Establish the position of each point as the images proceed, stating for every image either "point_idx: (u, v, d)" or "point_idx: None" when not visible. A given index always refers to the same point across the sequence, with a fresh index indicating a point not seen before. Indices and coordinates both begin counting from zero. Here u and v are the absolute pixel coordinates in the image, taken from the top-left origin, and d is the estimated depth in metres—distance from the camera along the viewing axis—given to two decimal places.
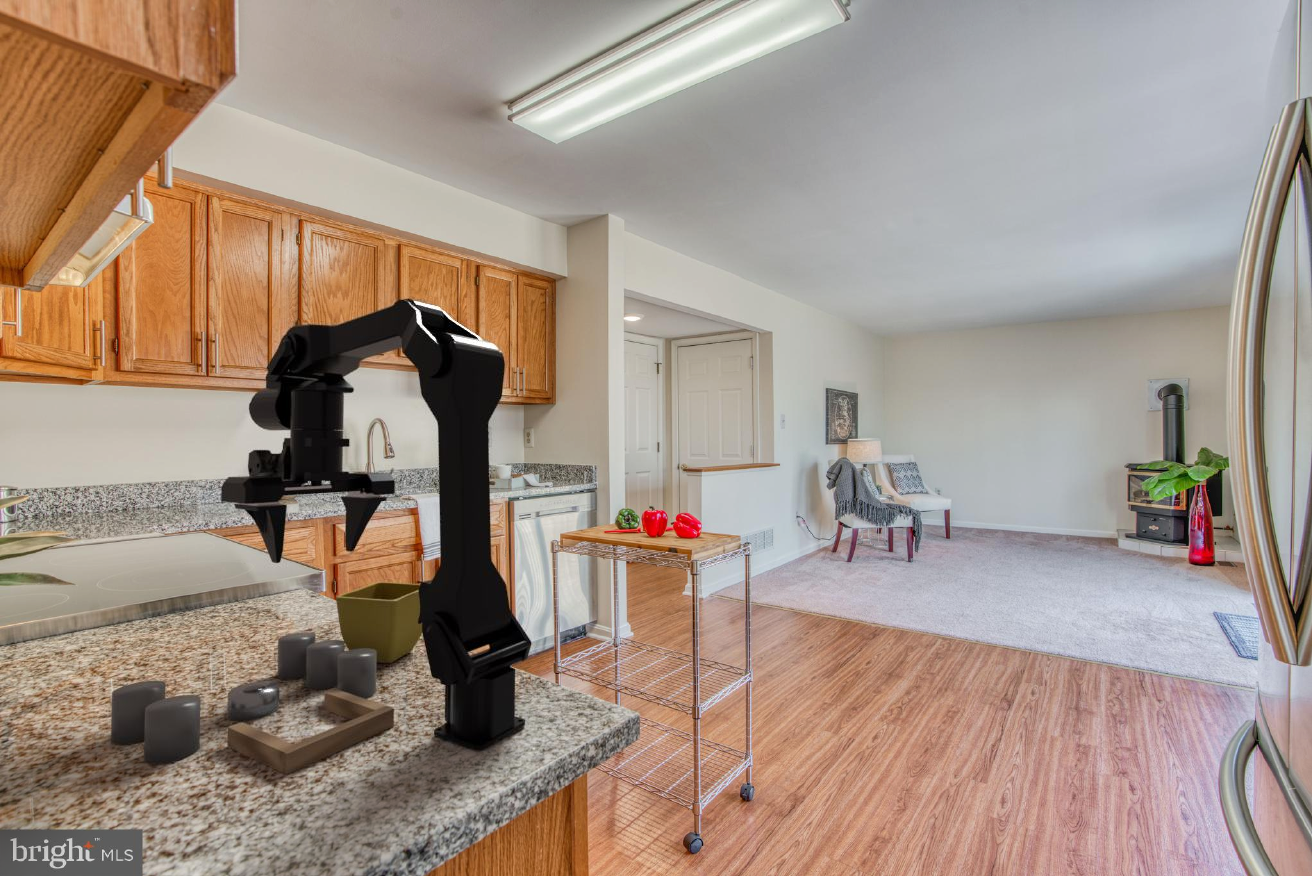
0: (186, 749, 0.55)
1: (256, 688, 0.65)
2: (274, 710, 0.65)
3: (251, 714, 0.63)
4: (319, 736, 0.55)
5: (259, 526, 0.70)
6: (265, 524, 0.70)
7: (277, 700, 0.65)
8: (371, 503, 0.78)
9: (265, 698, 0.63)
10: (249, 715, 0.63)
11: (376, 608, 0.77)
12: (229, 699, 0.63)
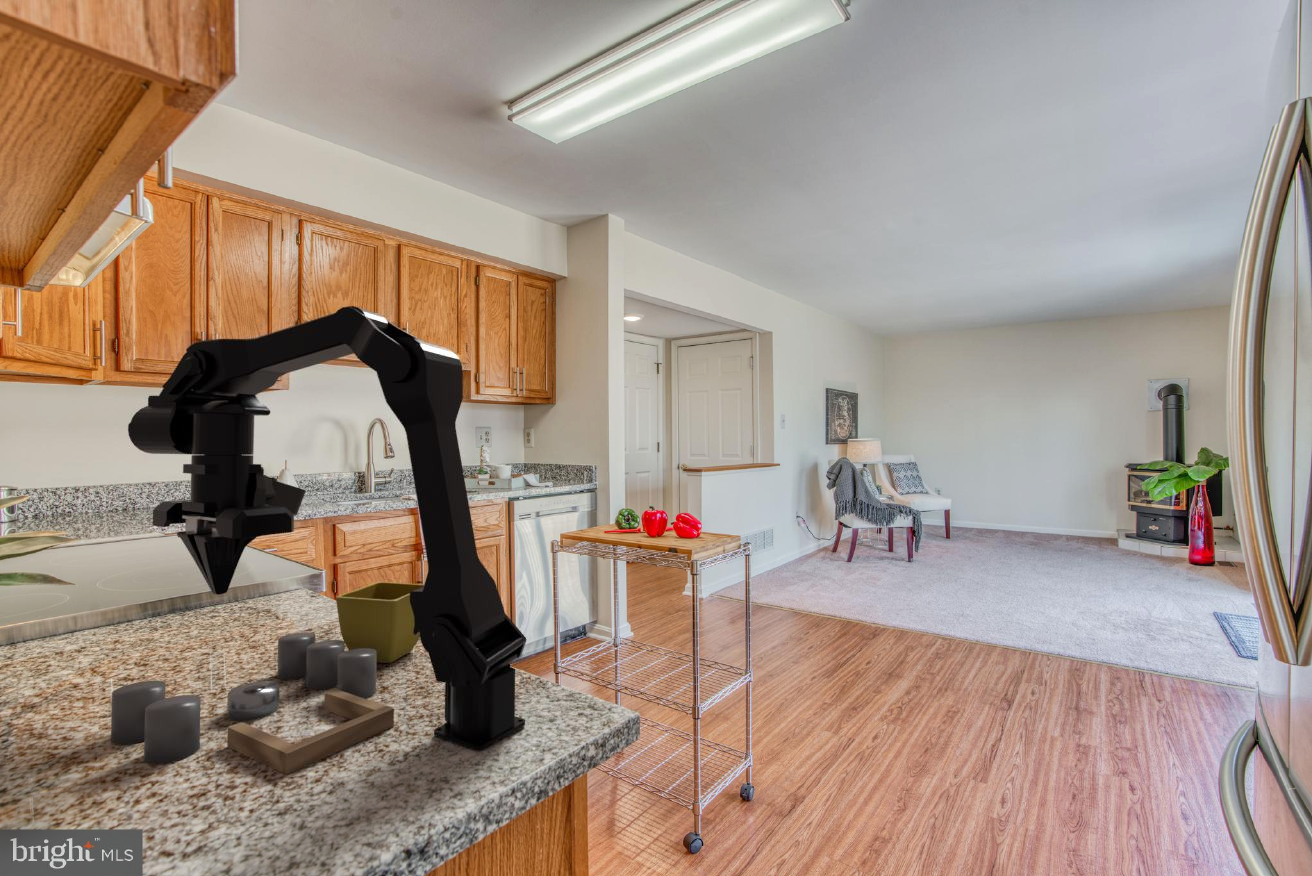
0: (186, 749, 0.55)
1: (256, 688, 0.65)
2: (274, 710, 0.65)
3: (251, 714, 0.63)
4: (319, 736, 0.55)
5: None
6: None
7: (277, 700, 0.65)
8: (198, 542, 0.66)
9: (265, 698, 0.64)
10: (249, 715, 0.63)
11: (376, 608, 0.77)
12: (229, 699, 0.63)
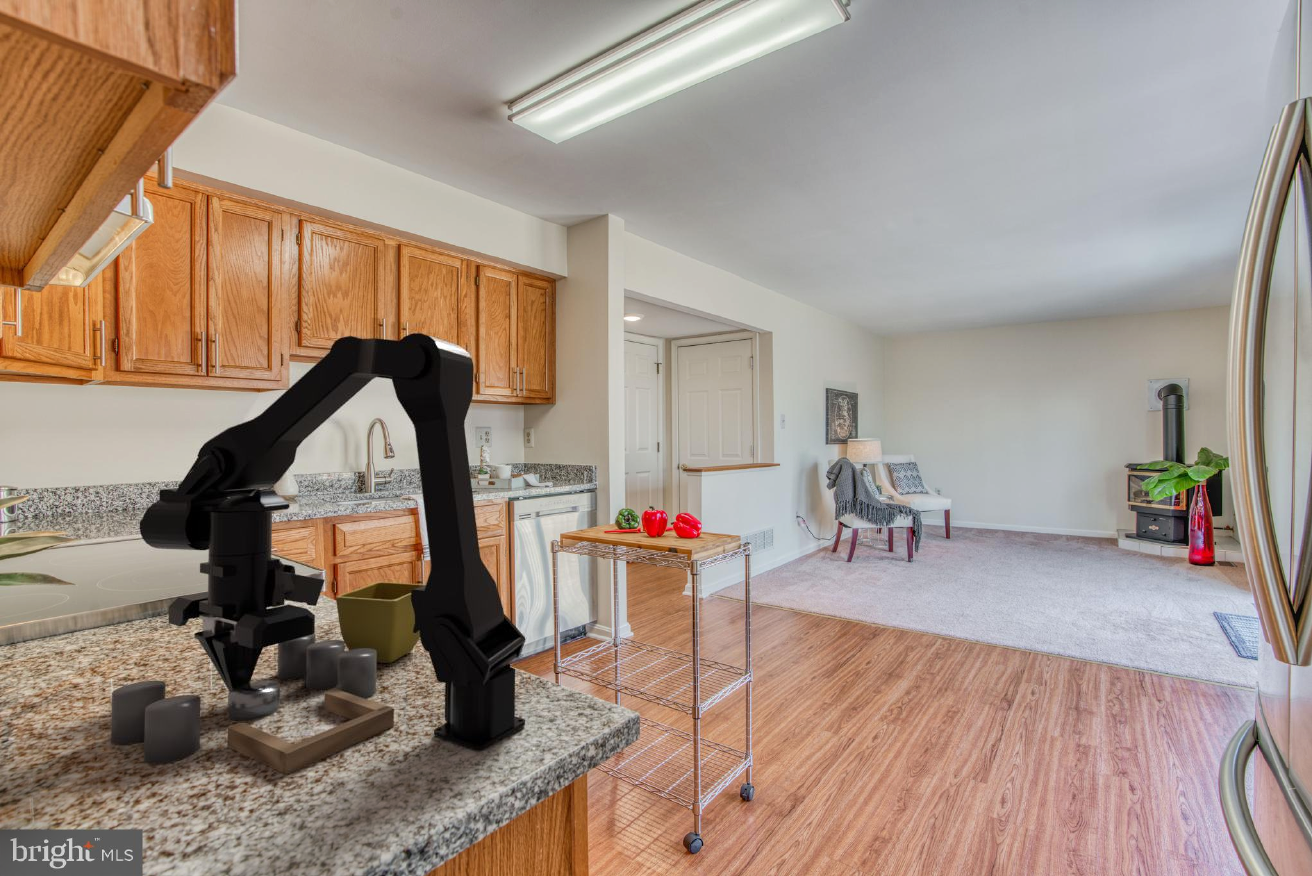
0: (186, 749, 0.55)
1: (257, 687, 0.65)
2: (275, 710, 0.65)
3: (252, 713, 0.63)
4: (319, 736, 0.55)
5: None
6: None
7: (278, 699, 0.65)
8: (216, 646, 0.63)
9: (266, 697, 0.64)
10: (250, 715, 0.63)
11: (376, 608, 0.77)
12: (230, 699, 0.63)
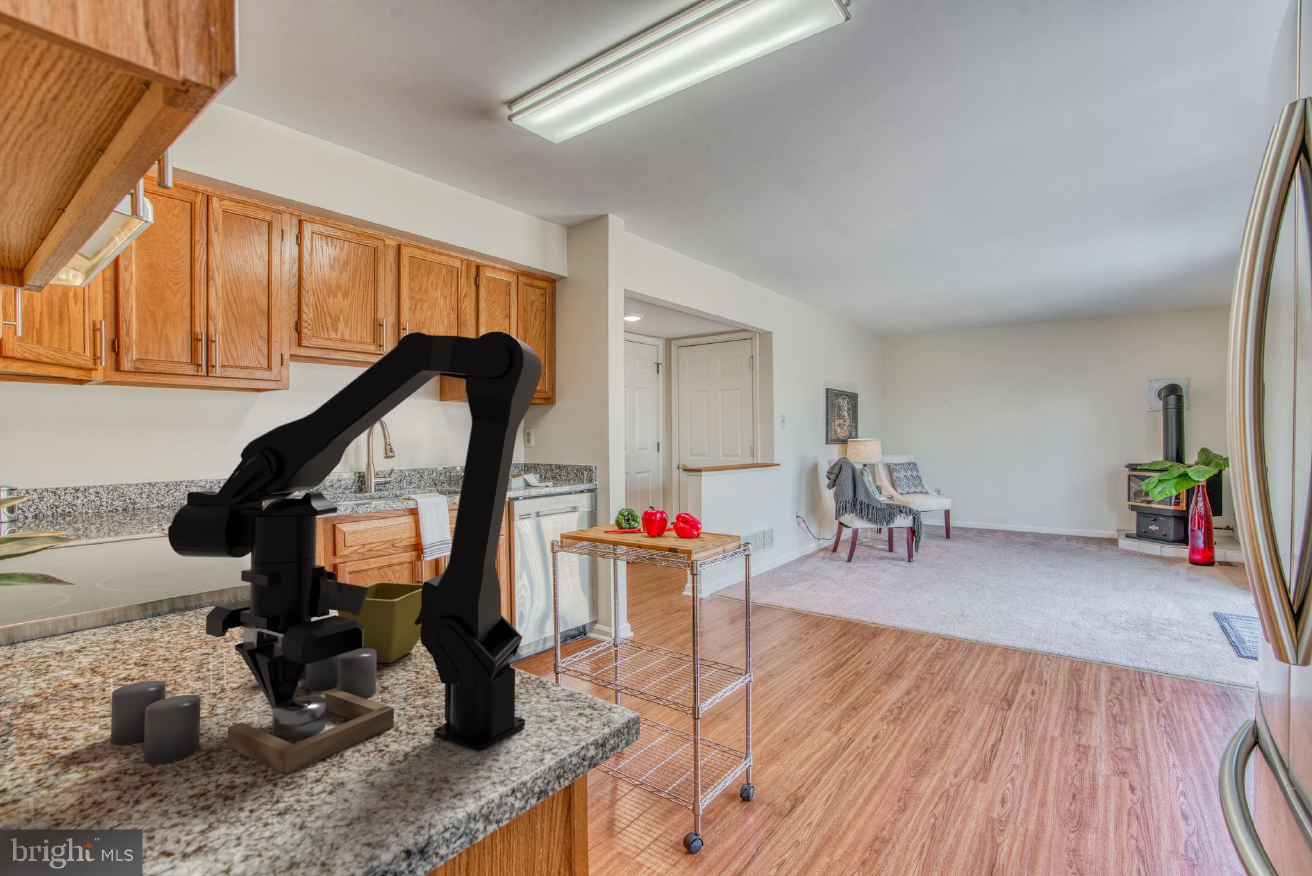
0: (186, 749, 0.55)
1: (302, 703, 0.61)
2: (322, 727, 0.60)
3: (299, 732, 0.59)
4: (319, 736, 0.55)
5: None
6: None
7: (324, 716, 0.61)
8: (259, 660, 0.59)
9: (313, 714, 0.59)
10: (297, 733, 0.58)
11: (376, 608, 0.77)
12: (275, 716, 0.59)
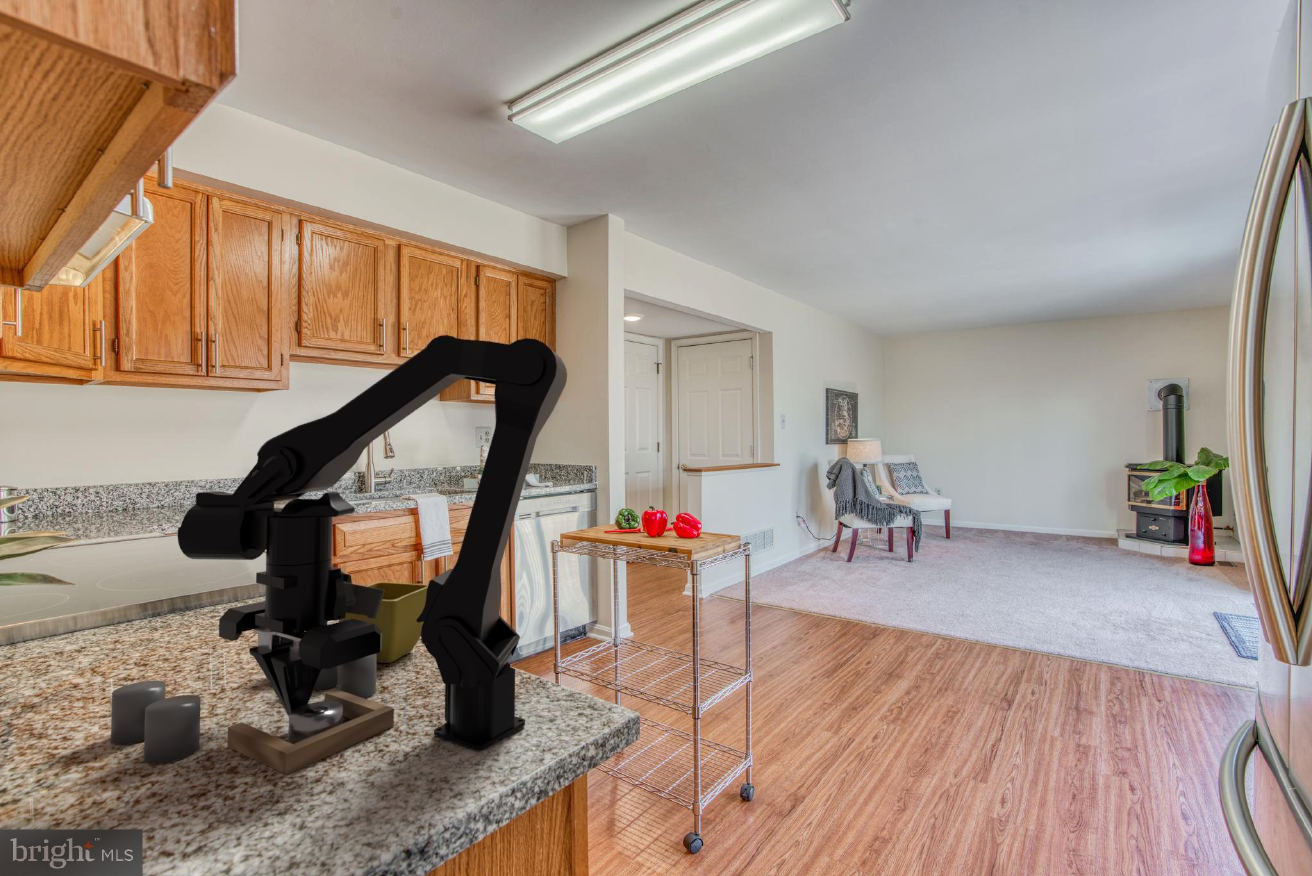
0: (186, 749, 0.55)
1: (318, 709, 0.60)
2: None
3: None
4: (319, 736, 0.55)
5: None
6: None
7: (341, 722, 0.60)
8: (275, 664, 0.58)
9: (331, 720, 0.58)
10: None
11: None
12: (291, 723, 0.57)
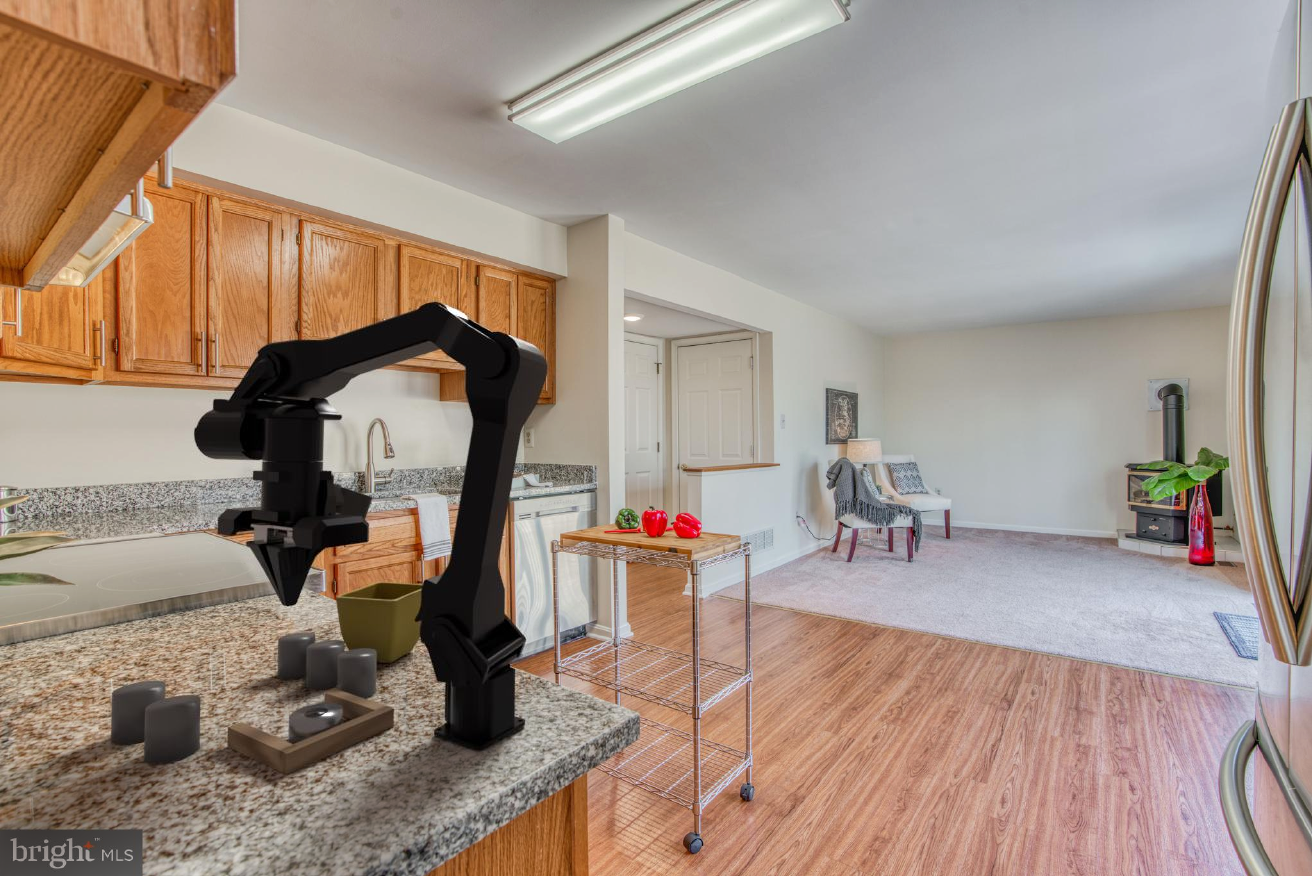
0: (186, 749, 0.55)
1: (318, 711, 0.59)
2: None
3: None
4: (319, 736, 0.55)
5: None
6: None
7: None
8: (270, 552, 0.63)
9: (331, 722, 0.58)
10: None
11: (376, 608, 0.77)
12: (292, 724, 0.57)
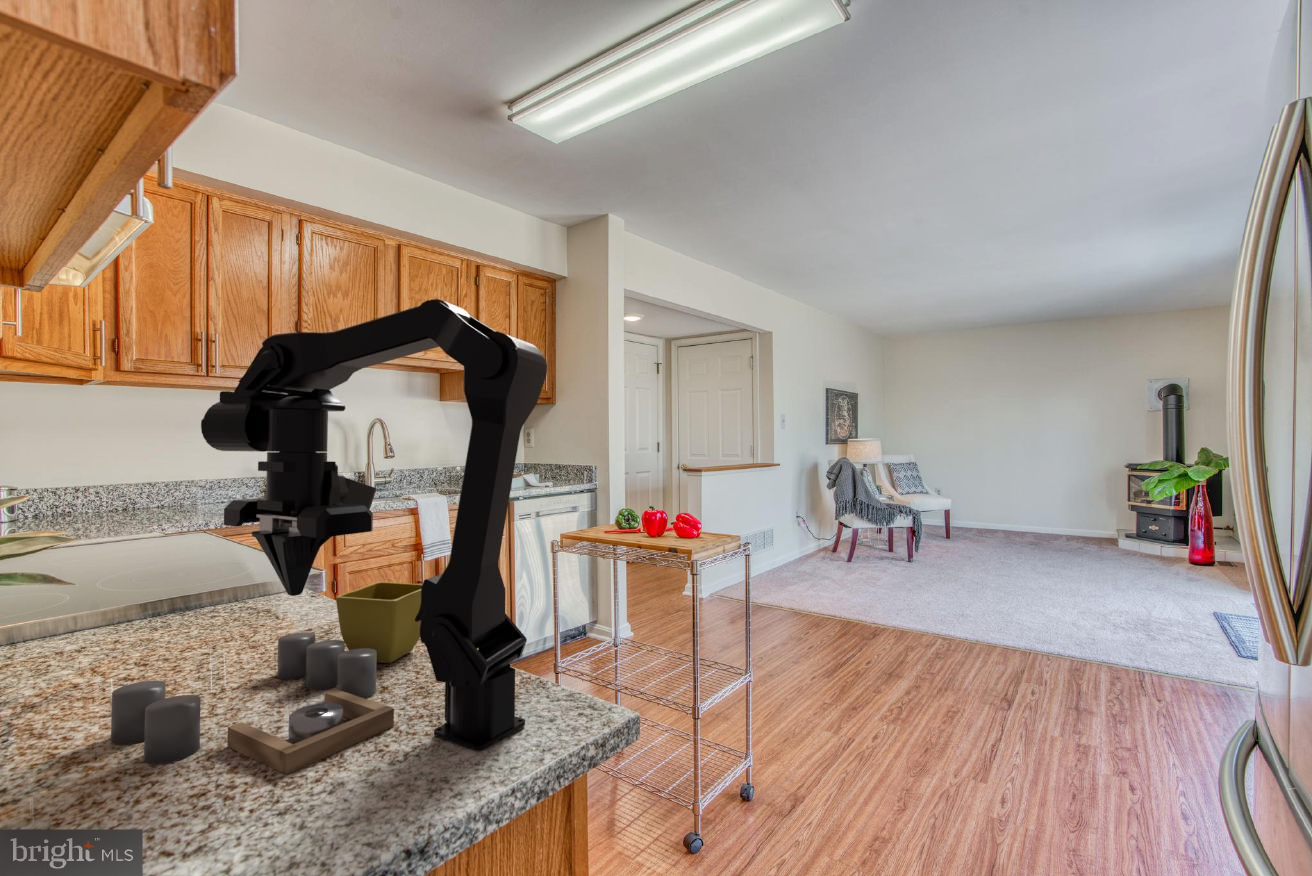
0: (186, 749, 0.55)
1: (318, 711, 0.59)
2: None
3: None
4: (319, 736, 0.55)
5: None
6: None
7: None
8: (275, 541, 0.64)
9: (332, 722, 0.58)
10: None
11: (376, 608, 0.77)
12: (292, 724, 0.57)
